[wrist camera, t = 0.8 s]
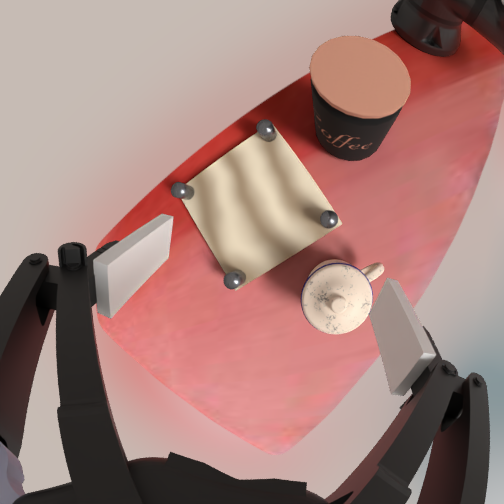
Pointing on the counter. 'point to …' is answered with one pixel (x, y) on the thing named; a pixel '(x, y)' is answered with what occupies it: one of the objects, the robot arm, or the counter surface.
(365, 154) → the coffee jar
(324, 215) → the set of grey pegs
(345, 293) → the teacup with lid
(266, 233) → the birch board
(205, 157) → the counter surface
